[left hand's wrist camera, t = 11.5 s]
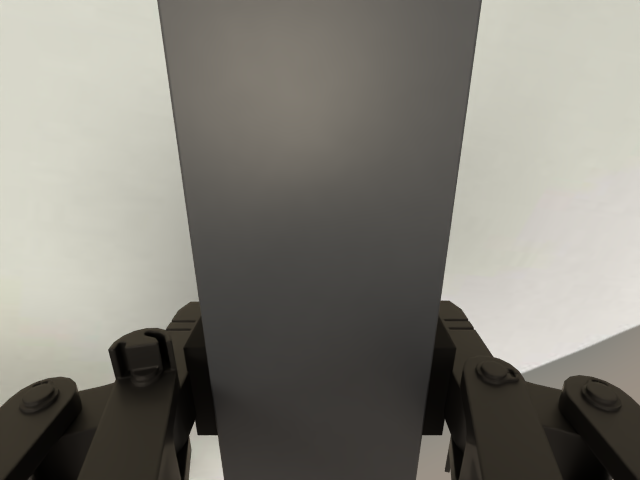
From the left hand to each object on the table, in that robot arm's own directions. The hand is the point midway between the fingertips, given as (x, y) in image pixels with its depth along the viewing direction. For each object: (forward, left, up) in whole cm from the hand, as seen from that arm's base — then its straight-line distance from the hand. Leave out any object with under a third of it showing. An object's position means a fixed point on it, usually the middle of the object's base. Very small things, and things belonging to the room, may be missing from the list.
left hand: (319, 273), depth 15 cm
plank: (+14, +24, -1) cm, 28 cm away
